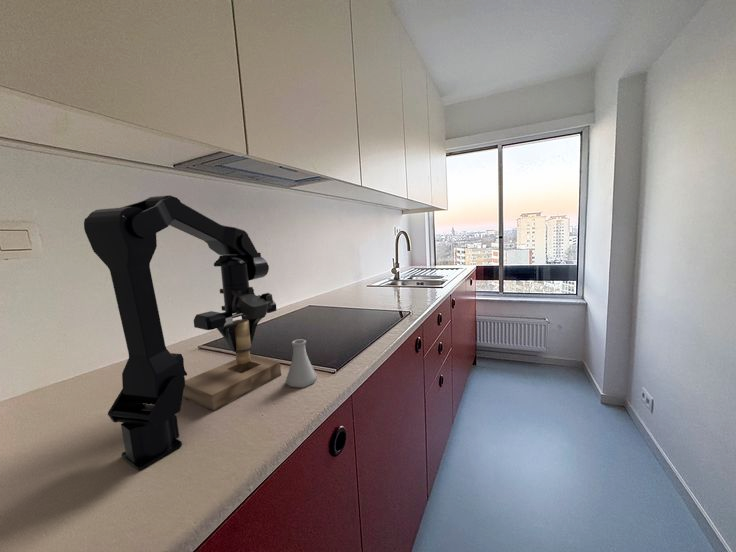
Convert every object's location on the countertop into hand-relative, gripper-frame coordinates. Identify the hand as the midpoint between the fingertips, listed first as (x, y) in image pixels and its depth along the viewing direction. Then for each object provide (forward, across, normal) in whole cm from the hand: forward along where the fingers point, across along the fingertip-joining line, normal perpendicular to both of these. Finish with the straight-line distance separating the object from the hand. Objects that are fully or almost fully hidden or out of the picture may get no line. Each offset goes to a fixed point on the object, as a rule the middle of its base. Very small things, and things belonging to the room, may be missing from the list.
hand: (242, 347), depth 74 cm
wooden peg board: (+8, -3, 0) cm, 9 cm away
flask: (+9, +6, -13) cm, 17 cm away
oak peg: (+4, 0, 0) cm, 4 cm away
